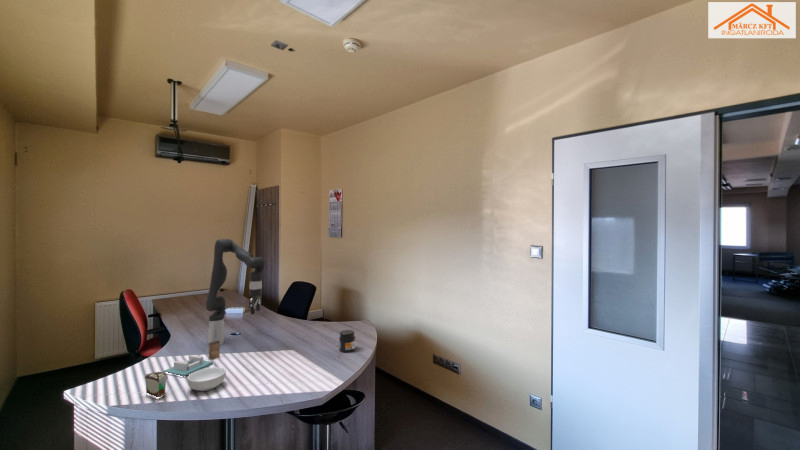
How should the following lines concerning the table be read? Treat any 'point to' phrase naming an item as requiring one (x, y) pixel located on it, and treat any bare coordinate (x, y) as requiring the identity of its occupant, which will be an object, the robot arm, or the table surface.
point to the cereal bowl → (206, 378)
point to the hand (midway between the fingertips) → (255, 312)
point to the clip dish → (205, 364)
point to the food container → (156, 383)
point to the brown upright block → (214, 349)
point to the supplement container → (347, 341)
